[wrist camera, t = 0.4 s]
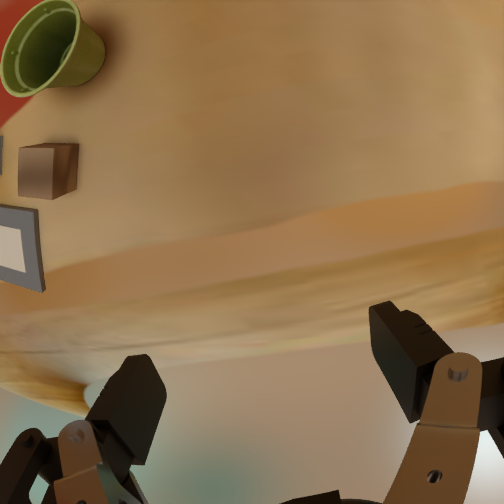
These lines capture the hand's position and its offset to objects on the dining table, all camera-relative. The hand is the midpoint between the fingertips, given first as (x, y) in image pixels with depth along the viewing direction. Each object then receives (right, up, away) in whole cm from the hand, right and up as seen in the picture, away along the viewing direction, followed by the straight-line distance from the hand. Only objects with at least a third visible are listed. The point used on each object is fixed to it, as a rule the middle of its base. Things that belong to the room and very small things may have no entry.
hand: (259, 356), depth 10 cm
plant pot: (-18, +24, +13) cm, 33 cm away
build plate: (-32, +4, +20) cm, 38 cm away
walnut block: (-21, +13, +17) cm, 30 cm away
